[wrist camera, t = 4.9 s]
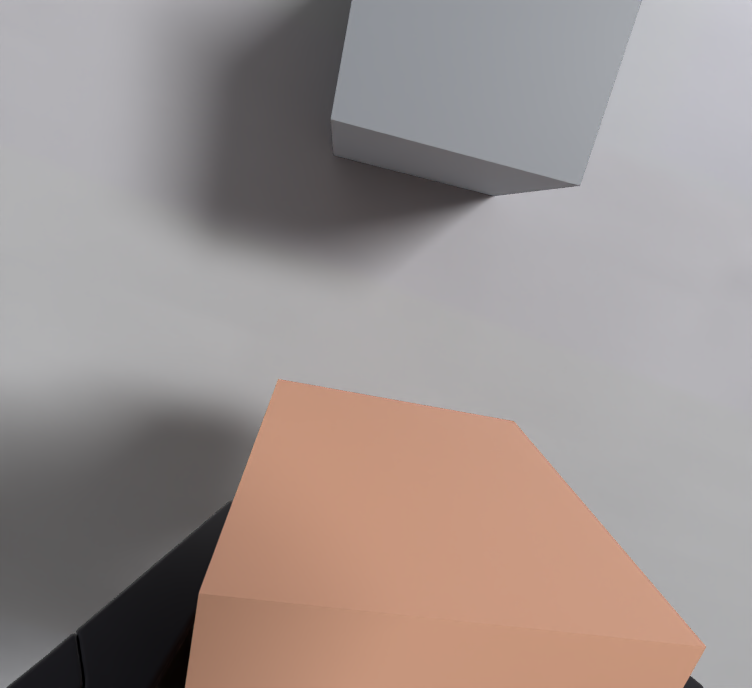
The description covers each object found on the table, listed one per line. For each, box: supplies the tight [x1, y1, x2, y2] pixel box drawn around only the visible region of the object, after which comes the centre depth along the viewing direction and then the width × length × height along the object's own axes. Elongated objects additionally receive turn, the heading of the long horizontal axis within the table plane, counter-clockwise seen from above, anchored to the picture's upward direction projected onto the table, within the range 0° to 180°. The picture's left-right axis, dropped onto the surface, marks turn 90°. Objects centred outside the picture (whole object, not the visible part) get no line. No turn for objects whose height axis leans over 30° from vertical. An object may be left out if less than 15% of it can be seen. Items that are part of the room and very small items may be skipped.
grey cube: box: [331, 0, 642, 196], centre depth 10 cm, size 5×5×5 cm
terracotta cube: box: [185, 379, 706, 688], centre depth 7 cm, size 5×5×5 cm
